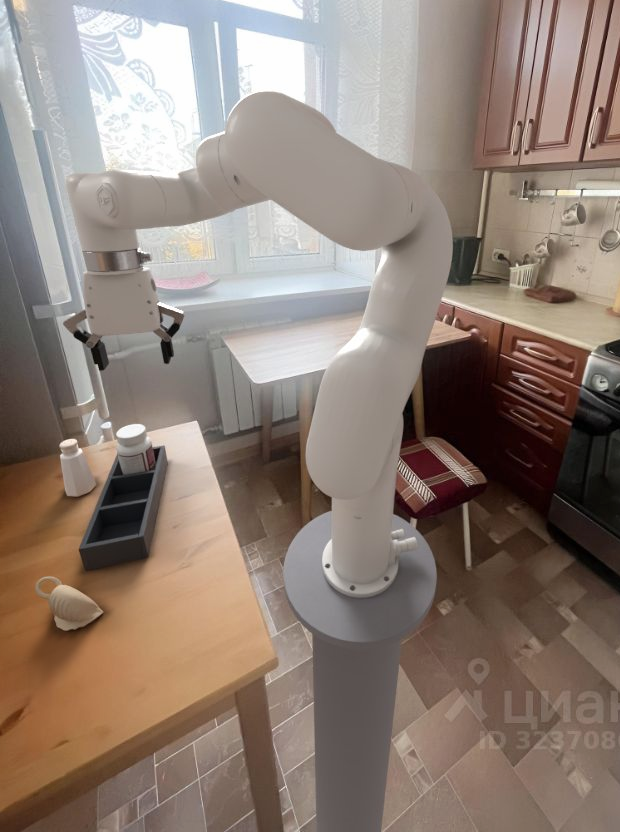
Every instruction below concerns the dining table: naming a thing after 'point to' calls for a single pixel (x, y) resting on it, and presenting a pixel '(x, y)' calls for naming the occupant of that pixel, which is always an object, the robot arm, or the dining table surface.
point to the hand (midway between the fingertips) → (136, 364)
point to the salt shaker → (75, 469)
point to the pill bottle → (135, 449)
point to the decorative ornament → (69, 605)
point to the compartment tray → (124, 515)
